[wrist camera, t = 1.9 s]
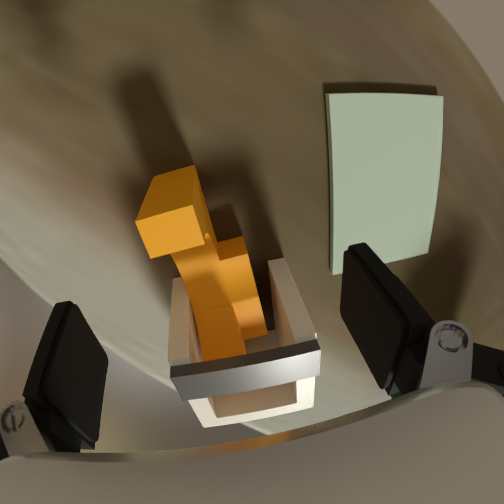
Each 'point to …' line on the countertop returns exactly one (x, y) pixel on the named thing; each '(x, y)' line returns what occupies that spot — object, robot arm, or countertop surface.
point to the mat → (383, 172)
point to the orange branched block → (203, 263)
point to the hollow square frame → (247, 360)
